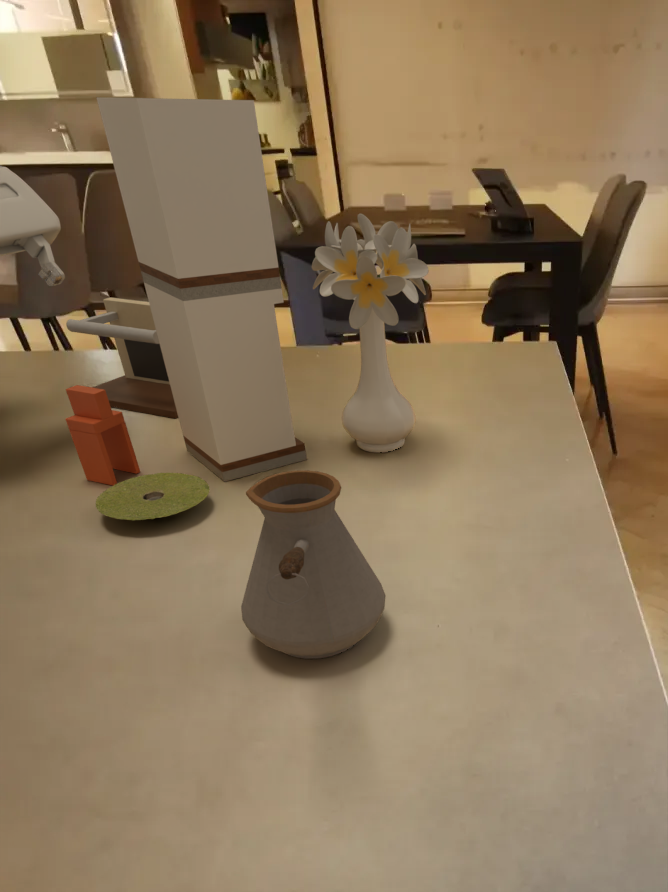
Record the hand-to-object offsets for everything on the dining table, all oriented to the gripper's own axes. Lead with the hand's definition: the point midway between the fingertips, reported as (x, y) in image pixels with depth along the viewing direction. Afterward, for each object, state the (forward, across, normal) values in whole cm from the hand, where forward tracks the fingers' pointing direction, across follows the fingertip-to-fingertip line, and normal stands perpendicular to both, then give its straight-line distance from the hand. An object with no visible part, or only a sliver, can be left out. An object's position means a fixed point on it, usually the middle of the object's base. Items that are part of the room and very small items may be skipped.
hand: (26, 291), depth 76 cm
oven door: (+12, -20, -15) cm, 27 cm away
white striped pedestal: (+27, -6, +4) cm, 28 cm away
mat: (+26, +11, +4) cm, 28 cm away
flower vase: (+36, -14, +16) cm, 42 cm away
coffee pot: (+43, +29, +27) cm, 59 cm away
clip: (+20, +5, -4) cm, 21 cm away
